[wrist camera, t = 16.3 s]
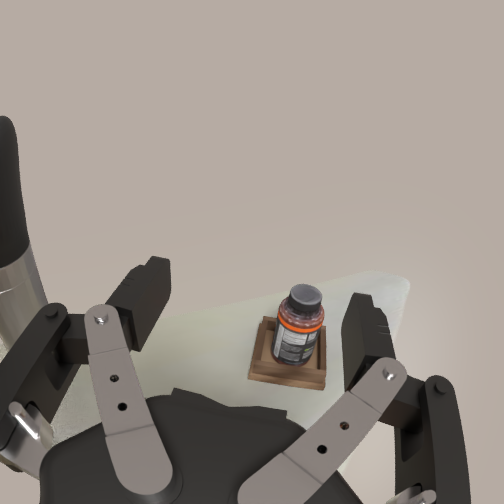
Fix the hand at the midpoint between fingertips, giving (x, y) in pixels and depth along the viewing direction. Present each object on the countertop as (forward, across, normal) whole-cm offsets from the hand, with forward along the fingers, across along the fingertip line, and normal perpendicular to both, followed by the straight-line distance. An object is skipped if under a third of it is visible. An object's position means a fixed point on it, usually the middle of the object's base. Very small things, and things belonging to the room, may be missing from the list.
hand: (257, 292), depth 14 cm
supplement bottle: (+20, -5, +26) cm, 34 cm away
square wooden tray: (+20, -5, +27) cm, 34 cm away
